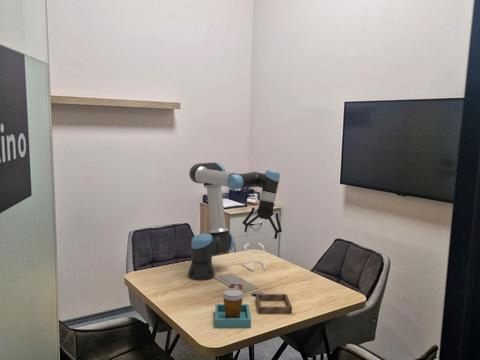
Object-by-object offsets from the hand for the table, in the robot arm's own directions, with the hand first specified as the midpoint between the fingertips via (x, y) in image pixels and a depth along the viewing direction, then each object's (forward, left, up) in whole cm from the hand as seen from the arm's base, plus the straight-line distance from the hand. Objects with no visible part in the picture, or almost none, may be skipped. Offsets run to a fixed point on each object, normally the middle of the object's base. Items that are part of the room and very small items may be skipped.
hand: (259, 242), depth 208 cm
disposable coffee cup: (-14, -27, -27) cm, 41 cm away
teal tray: (-14, -27, -28) cm, 41 cm away
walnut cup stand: (+6, -14, -28) cm, 32 cm away
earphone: (+2, +43, -28) cm, 51 cm away
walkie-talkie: (-12, -1, -28) cm, 31 cm away
